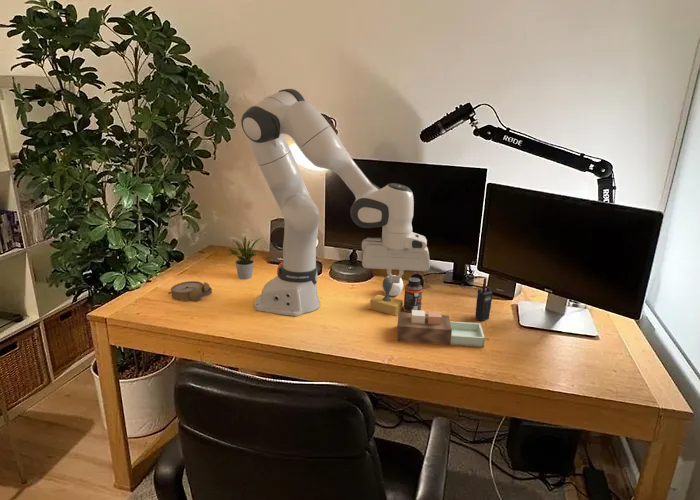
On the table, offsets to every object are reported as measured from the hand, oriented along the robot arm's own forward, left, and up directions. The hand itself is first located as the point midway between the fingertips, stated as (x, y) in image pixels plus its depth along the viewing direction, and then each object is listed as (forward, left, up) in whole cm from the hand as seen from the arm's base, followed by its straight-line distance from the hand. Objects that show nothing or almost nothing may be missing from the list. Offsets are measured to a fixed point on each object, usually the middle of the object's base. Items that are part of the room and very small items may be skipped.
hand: (394, 282), depth 163 cm
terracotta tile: (+13, 0, -12) cm, 18 cm away
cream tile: (+8, 0, -12) cm, 15 cm away
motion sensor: (0, +31, -17) cm, 35 cm away
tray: (+23, 0, -17) cm, 29 cm away
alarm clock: (-71, +18, -18) cm, 75 cm away
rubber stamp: (-2, +18, -18) cm, 25 cm away
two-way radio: (+30, +16, -17) cm, 38 cm away
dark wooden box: (+10, 0, -17) cm, 20 cm away
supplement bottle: (+7, +19, -17) cm, 26 cm away
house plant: (-57, +41, -17) cm, 72 cm away
